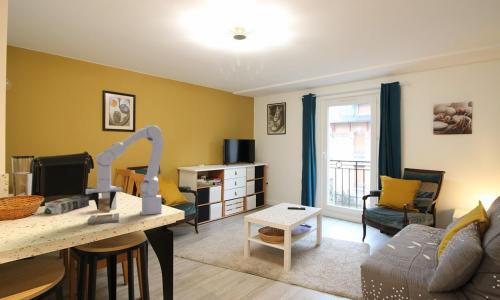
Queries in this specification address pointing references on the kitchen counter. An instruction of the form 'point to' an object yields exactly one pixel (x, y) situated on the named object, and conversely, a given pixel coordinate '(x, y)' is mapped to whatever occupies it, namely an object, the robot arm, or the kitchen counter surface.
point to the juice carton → (66, 204)
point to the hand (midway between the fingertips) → (104, 208)
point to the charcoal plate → (103, 219)
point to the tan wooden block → (104, 205)
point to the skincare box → (107, 195)
